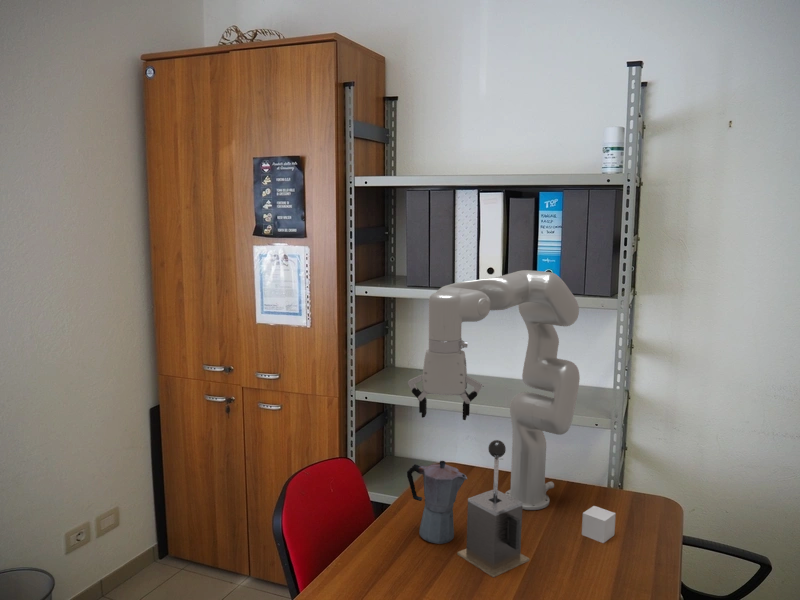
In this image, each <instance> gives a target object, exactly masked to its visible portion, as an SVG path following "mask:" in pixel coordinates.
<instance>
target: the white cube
mask: <svg viewBox="0 0 800 600" xmlns="http://www.w3.org/2000/svg"><path fill="white" fill-rule="evenodd" d="M616 514H617V513H616V512H614V511H610V510H607V509H606V508H605V509H604V508H602V507H599V506H596V505H593V506H591V507H589V508H588V509H587V510H585V511H583V512H582V520H581V521H582V523H581V535H582V536H584V537H587V538H589V539H592V540H594V541H596V542H598V543H599V542H600V543H602V544H605V543H606V542H607V541H609V540H610V539H611V538H612V537H614V536H615V531H616V516H617V515H616Z"/></svg>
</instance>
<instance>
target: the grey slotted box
mask: <svg viewBox="0 0 800 600" xmlns="http://www.w3.org/2000/svg"><path fill="white" fill-rule="evenodd" d="M492 501H493V489H490V490H488V491H485V492H482V493H479V494H476V495H474V496H471V497H468V498H467V517H466V522H467V524H466V548H465V549H461V550H459V551H457V553H456V554H457V556H459V557H461V558H462V559H464V560H465V561H467V562H468V563H470V564H471V565H473V566H475V567H476V568H478V569H479V570H480V571H483V572H484V573H486V574H487V575H489V576H490V577H492V578H496V577H497V576H500V575H502V574H504V573H506V572H509V571H511V570H513V569H514V568H517V567H519V566H520V565H523V564H525V563H528V562H529V561H530V557H528V556H526V555H524V554H522V553H521V551H522V550H521V548H522V524H523V509H522V505H523V502H521V501H519V500H517V499H515V498H513V497H511V496H509V495H507V494H505V493H504V492H502V491H500V490H498V495H497V502H498V503H493V502H492Z"/></svg>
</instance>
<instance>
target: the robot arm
mask: <svg viewBox="0 0 800 600" xmlns="http://www.w3.org/2000/svg"><path fill="white" fill-rule="evenodd" d="M578 303H579V302H578V300H577V299H576V297H575V295H574V294H573V293H572V291H571V290H570V288H569V287H568V285H567V284H566V282H564V281H563V278H561V277H560V276H558V274H556V273H554V272H551V271H542V270H540V271H539V270H530V269H528V270H527V269H523V270H518V271H514V272H510V273H506V274H503V275H500V276H495V277H490V278H488V277H487V278H481V279H475V280H465V281H459V282H454V283H451V284H446V285H444V286H441V287H440V288H439V289H438V290H437V291H436V292H434V293H432V294H431V295H430V296H429V299H428V348H427V349H426V351H425V354H424V360H423V370H422V373H421V374H418V375H417V376H415V377H412V378H411V379H409V380H408V381H407V385H408V386H409V389H410V391H411V393H412V394H413V395H414V397H416V398H417V401H418V408H419V409H418V412H419V414H421V418H423V419H424V418H425V417H426V416H427V411H428V410H427V407H428V406H427V400H428V399H427V396H428V395H443V396H444V395H445V396H459V397H460V398H461V399H462V400H463V402H462V421H466V420H467V416H468V417H469V416H470V414H471V413H470V405H471V402H472V401H473V400H474V399H475V398H476V397H477V396H478V395H479V393H480V390H481V389H482V387H483V384H482V383H481V382H479V381H477V380H475V379H474V378H472V377H470V376H468V372H467V371H468V370H467V360H466V353H465V350H463V349H464V348H465V349H466V348H468V344H469V343H468V341H464V340H463V339H462V324H463V323H467V322H468V323H476V322H477V323H478V322H480V321H482V320H484V319H485V318H486V317H487V316H488V315H489V314H490V312H491V311H504V310H507V309H509V308H510V309H511V308H513V307H515V306H518V311H519V313H520V316H521V319H523V322H524V323H525V327H526V329H527V333H528V334H527V335H528V338H527V339H528V340H527V346H526V347H527V348H526V351H525V358H524V362H523V369H522V375H521V377H522V382H523V383H524V385H525V386H527V387H529V388H533V389H535V390H539V391H544V392H548V393H553V394H554V396H553V397H551V396H547V395H542V394H539V393H534V392H529V391H527V392H526V391H524V392H523V391H522V392H519V393H517V394H515V395H514V396H513V397H512V399H511V400H510V404H509V415H510V416H509V417H510V420H511V421H510V422H511V429H512V432H511V433H512V440H511V441H512V442H511V445H512V446H511V466H510V467H511V468H510V488H509V489H508V490H507V491H505V493H504V494H507V495H509V496H511V497H513V498H515V499H517V500H519V501H521V502H523V505H522V510H527V511H536V510H538V511H539V510H542V509H545V508H547V507H548V506H549V505H550V497H549V495H548V494H547V491H549V490H551V489H554V488H555V483H554V482H553V481H548V482H546V461H547V459H546V458H547V439H546V435H545V434H544V432H545V433H549V434H554V435H560V436H561V435H564V434H566V433H568V431H569V430H570V428H571V426H572V424H573V423H572V422H573V418H574V414H575V410H576V409H575V408H576V403H577V397H578V394H579V393H578V392H579V387H580V380H581V379H580V376H581V375H580V371H579V367H578V366H577V365H576V363H574V362H572V361H571V360H568V359H561V358H558V351H559V345H560V344H559V343H560V340H559V339H560V338H559V335H558V333H557V331H556V328H555V326H558V327H570V326H572V325H573V324H575V322H577V320H578V317H579V313H580V308H579V304H578ZM420 382H422V383H421V385H422V386H421V387H422V391H421V390H420V389H419V388H418V387H417V384H418V383H420ZM468 385H469V386H472V387H474V388H473V390H472V391H471V392H470V393H469V392H468V391H467V387H468Z"/></svg>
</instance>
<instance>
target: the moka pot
mask: <svg viewBox="0 0 800 600" xmlns="http://www.w3.org/2000/svg"><path fill="white" fill-rule="evenodd" d="M414 472H416V473H417V474H419V475H422V476H423V494H424V507H423V508H424V509H423V510H422V511H423V512H422V517H421V521H420V525H419V531H418V532H419V533H418V534H419V536H420V537H421V538H422V539H423V540H425V541H427V542H428V543H431V544H439V545H442V544H447V543H450V542H451V541H453V539H454V537H455V529H454V528H455V525H454V511H453V510H454V504H455V502H456V499H457V495H458V492H459V491H460V489H461V487H462V486H463V483H465V481H466V480H468V477H467V475H466V474H465V473H463V472H460V470H459V469H458V468H457V467H454V466H451V465H448V464H446V461H445V460H440V461H439V464H438V463H437V464H436V463H435V464H430V465H428V466H425V465H418V464H413V465H412V466H411V467H410V468H409V469H408V470H407V471H406V475H407V481H408V483H409V487H410V489H411V494H412V495H411V496H412V499H413V500H416V501H418V502H422V501H423V497H422V496H418V494H417V491H416V486H415V481H414V477H413V475H412V474H413V473H414Z"/></svg>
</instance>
